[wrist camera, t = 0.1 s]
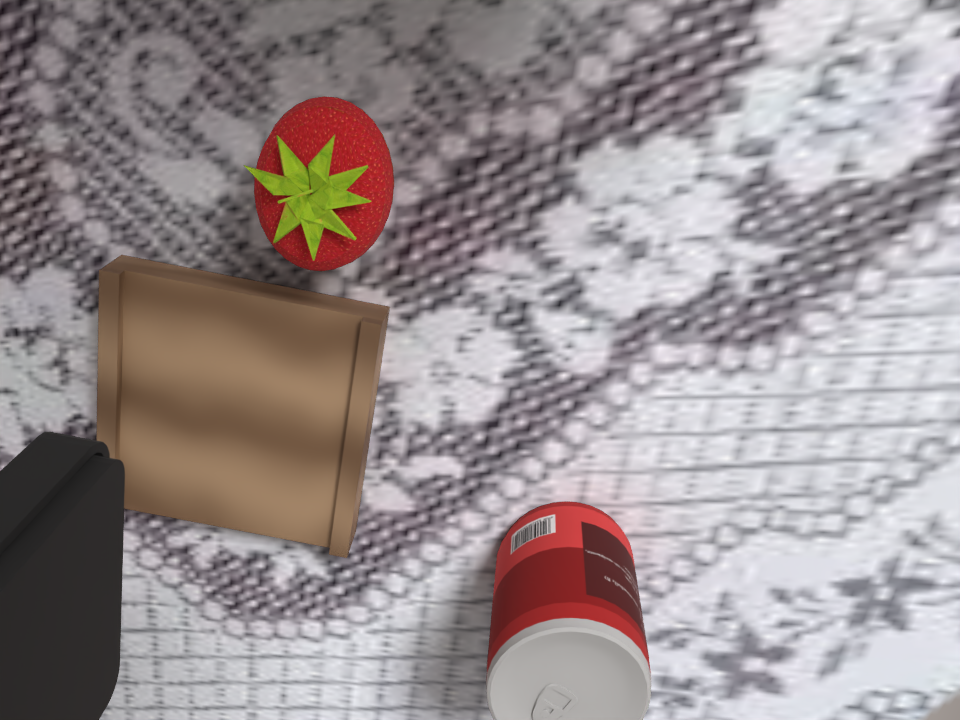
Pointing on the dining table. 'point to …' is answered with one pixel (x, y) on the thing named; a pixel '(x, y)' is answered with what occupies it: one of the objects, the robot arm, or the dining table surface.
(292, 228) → the strawberry
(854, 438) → the dining table surface
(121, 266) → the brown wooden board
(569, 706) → the canned food
